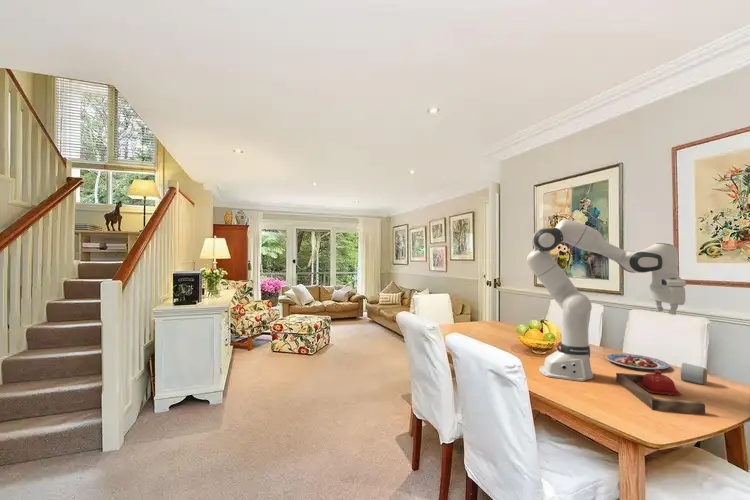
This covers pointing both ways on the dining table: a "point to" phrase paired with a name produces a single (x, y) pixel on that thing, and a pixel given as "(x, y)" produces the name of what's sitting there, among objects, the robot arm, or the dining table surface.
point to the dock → (654, 403)
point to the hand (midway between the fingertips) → (666, 312)
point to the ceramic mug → (693, 373)
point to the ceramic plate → (637, 361)
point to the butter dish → (659, 384)
